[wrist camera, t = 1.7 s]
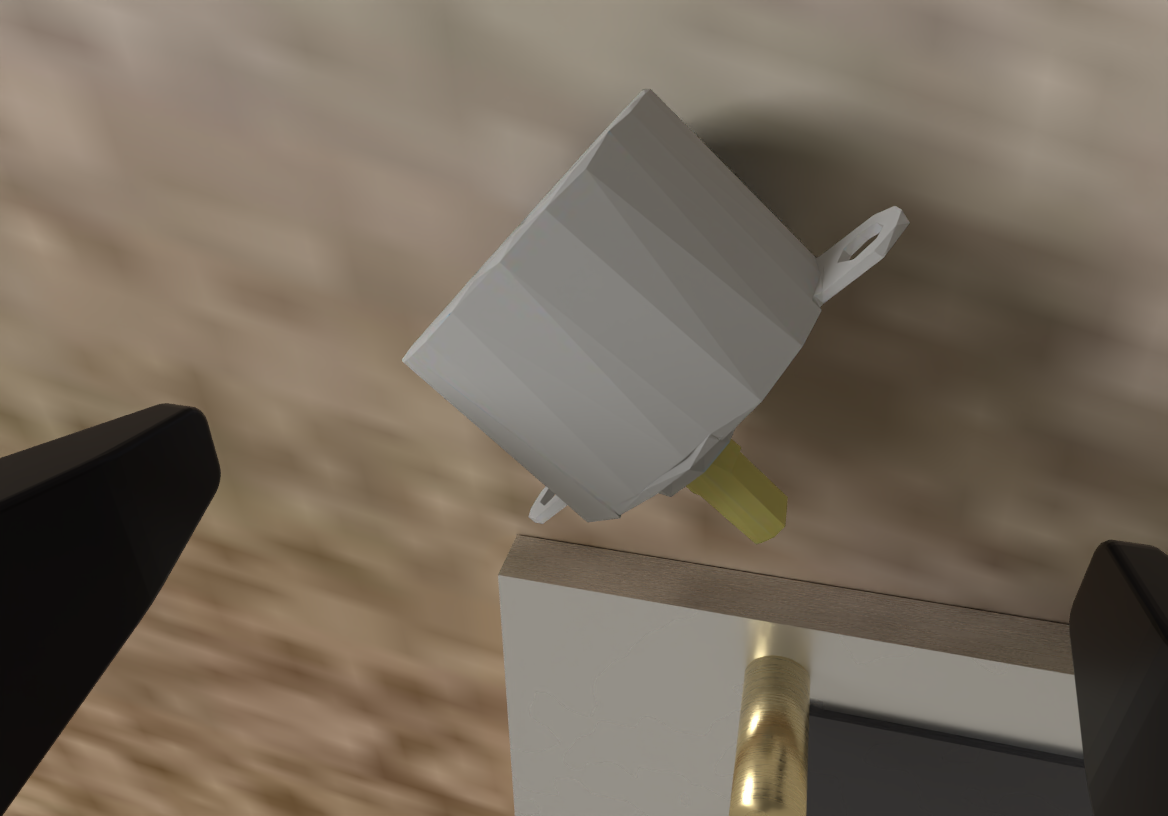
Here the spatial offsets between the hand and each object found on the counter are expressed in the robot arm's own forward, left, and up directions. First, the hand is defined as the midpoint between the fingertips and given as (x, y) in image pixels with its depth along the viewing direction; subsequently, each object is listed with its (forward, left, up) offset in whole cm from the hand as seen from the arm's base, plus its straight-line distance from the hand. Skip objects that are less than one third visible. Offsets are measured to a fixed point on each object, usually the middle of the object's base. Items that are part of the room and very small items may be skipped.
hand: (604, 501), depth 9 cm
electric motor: (0, 0, -6) cm, 6 cm away
